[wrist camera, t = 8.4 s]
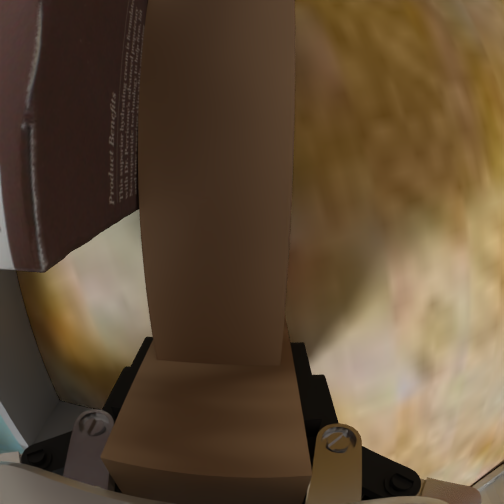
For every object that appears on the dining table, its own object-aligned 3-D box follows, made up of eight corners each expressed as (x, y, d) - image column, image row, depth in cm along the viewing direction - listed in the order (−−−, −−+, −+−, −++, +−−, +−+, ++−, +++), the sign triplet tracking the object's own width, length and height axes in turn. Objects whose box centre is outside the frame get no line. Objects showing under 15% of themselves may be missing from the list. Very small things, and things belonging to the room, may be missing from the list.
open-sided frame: (237, -50, 7) (232, -115, 3) (234, 435, 14) (230, 499, 10) (9, 8, 7) (-42, -12, 3) (53, 407, 14) (25, 452, 10)
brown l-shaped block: (294, 15, 8) (344, -123, 2) (277, 395, 13) (288, 536, 6) (167, 18, 8) (76, -99, 2) (179, 391, 13) (145, 525, 6)
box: (40, 58, 8) (-96, 26, 1) (178, 29, 8) (86, -101, 1) (35, 201, 10) (-108, 262, 3) (171, 197, 10) (40, 285, 3)
